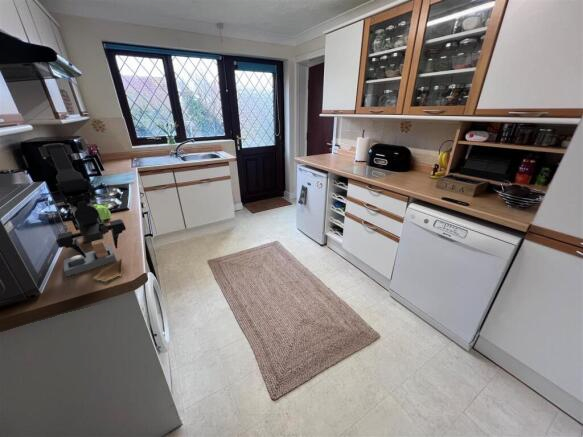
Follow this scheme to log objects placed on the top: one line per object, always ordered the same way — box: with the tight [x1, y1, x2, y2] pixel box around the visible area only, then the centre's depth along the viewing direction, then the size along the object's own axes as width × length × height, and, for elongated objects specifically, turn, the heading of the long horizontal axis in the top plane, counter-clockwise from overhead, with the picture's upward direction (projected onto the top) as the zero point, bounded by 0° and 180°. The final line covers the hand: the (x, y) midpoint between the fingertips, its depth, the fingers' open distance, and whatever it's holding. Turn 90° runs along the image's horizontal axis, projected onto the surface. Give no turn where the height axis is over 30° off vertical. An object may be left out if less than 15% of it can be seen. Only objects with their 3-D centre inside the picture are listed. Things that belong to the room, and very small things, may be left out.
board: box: [63, 241, 117, 277], centre depth 86 cm, size 9×14×6 cm, turn 131°
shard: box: [93, 258, 123, 282], centre depth 82 cm, size 11×8×2 cm
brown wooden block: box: [91, 238, 108, 259], centre depth 87 cm, size 3×3×8 cm
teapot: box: [93, 202, 112, 223], centre depth 119 cm, size 11×12×8 cm
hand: (101, 252), depth 87 cm, fingers open, 9 cm apart
